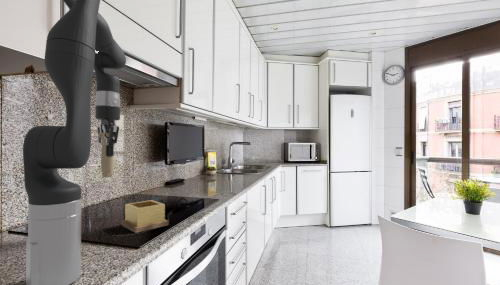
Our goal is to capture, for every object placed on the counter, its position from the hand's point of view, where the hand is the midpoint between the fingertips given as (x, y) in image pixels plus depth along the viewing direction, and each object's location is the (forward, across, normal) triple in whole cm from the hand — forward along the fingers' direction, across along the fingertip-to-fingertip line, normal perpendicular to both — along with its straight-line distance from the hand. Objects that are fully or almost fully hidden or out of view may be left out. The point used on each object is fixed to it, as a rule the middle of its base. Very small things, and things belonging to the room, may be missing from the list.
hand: (107, 155), depth 92 cm
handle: (+7, 0, 0) cm, 7 cm away
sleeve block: (+25, +5, +11) cm, 28 cm away
